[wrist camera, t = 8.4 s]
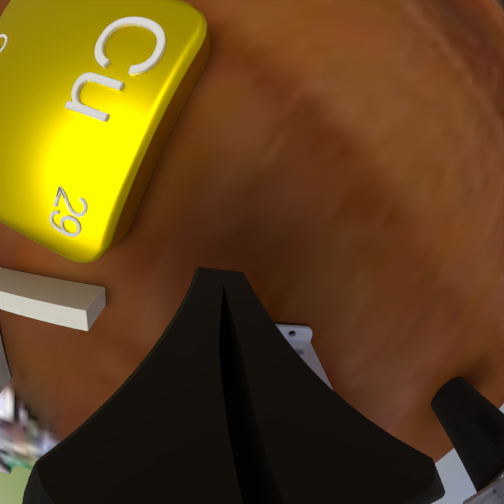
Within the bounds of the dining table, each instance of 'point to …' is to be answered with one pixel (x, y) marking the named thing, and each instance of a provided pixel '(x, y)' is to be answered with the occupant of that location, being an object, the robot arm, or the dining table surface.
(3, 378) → the supplement box
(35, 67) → the element tile
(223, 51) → the dining table surface
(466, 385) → the drinking cup
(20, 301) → the white l-shaped strip
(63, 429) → the dining table surface
